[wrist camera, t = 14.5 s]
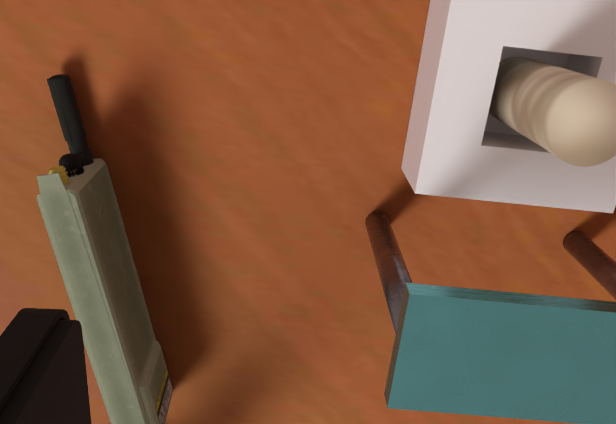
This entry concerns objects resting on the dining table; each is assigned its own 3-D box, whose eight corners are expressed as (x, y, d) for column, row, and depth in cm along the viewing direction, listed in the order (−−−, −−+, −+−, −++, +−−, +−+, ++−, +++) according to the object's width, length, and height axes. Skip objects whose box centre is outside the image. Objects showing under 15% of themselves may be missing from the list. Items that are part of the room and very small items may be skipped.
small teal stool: (369, 179, 39) (409, 293, 25) (600, 202, 40) (768, 326, 26) (356, 260, 42) (387, 408, 27) (576, 280, 42) (719, 434, 28)
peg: (489, 53, 36) (559, 76, 26) (553, 59, 36) (646, 84, 26) (476, 119, 37) (539, 163, 28) (538, 124, 37) (621, 170, 28)
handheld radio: (136, 398, 46) (36, 76, 37) (178, 391, 46) (89, 68, 37) (114, 462, 40) (-11, 95, 31) (163, 455, 40) (51, 85, 31)
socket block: (434, -26, 35) (455, -27, 30) (630, -2, 36) (680, 0, 31) (401, 168, 39) (414, 193, 35) (576, 186, 40) (613, 213, 35)
